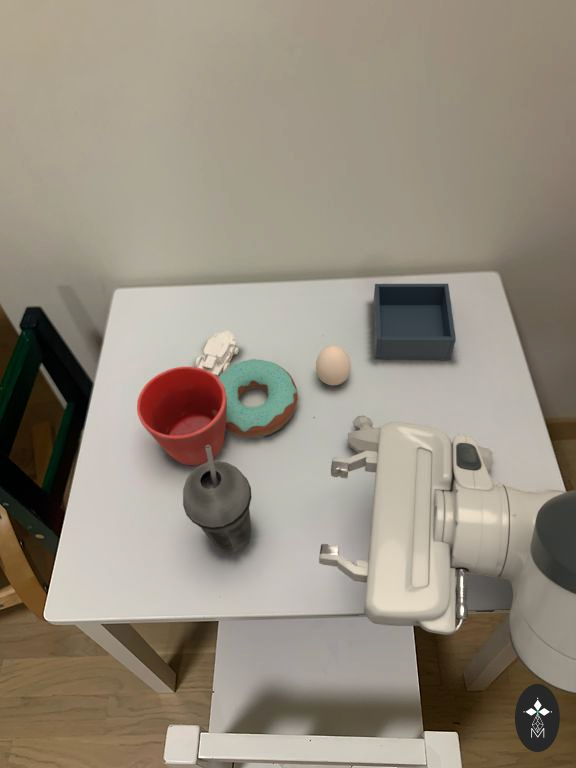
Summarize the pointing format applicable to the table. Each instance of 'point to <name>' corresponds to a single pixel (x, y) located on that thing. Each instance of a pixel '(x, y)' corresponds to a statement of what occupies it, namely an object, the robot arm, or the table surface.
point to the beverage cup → (219, 504)
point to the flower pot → (185, 413)
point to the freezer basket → (413, 322)
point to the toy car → (218, 353)
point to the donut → (270, 412)
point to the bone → (369, 439)
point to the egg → (333, 365)
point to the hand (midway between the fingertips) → (325, 508)
